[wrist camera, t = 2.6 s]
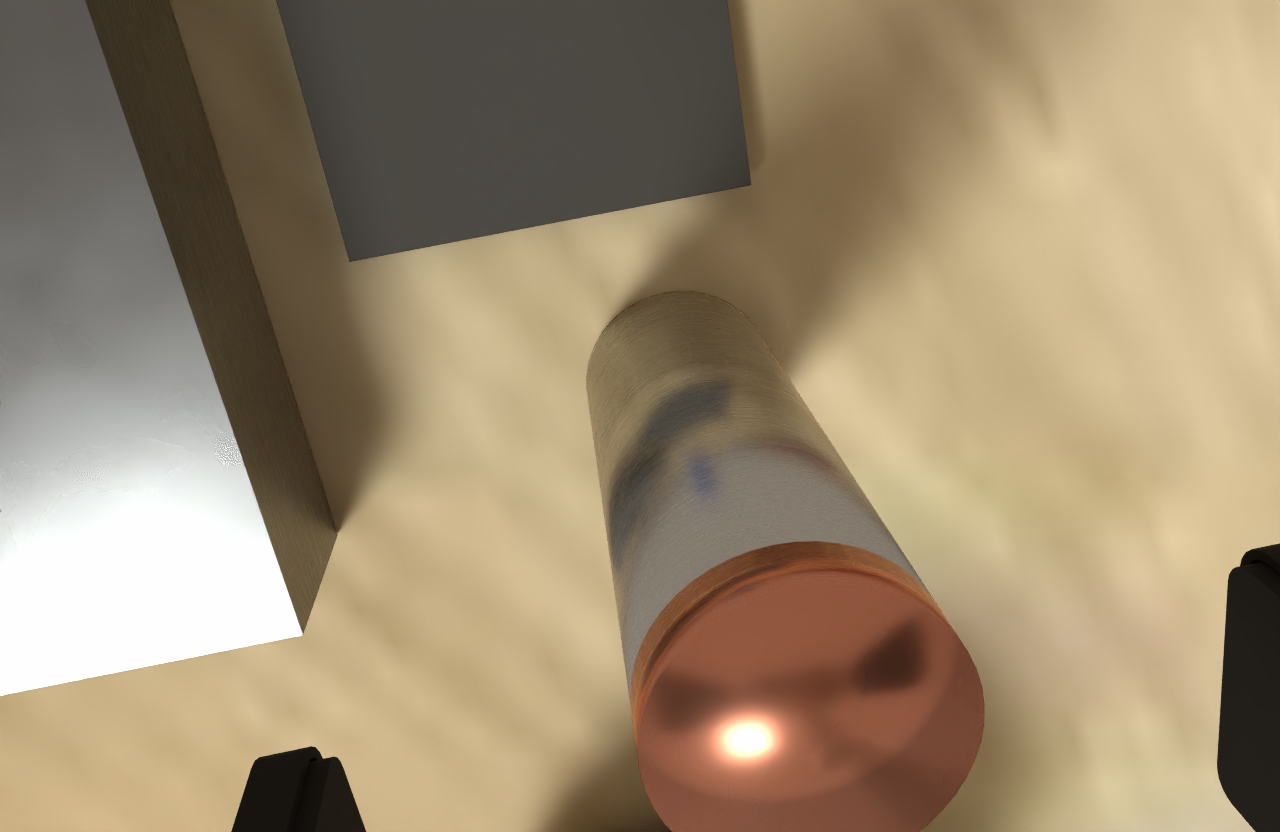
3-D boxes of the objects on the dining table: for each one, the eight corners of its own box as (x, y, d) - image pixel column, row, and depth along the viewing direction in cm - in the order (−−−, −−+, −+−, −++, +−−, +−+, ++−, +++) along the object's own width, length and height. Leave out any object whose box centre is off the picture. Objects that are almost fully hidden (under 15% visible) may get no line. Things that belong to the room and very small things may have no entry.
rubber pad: (684, -276, 19) (689, -284, 18) (745, 179, 22) (750, 185, 21) (229, -194, 19) (220, -199, 18) (354, 255, 22) (349, 262, 21)
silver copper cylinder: (758, 274, 23) (974, 553, 12) (780, 446, 24) (993, 838, 13) (569, 311, 23) (608, 626, 12) (604, 481, 24) (668, 904, 13)
